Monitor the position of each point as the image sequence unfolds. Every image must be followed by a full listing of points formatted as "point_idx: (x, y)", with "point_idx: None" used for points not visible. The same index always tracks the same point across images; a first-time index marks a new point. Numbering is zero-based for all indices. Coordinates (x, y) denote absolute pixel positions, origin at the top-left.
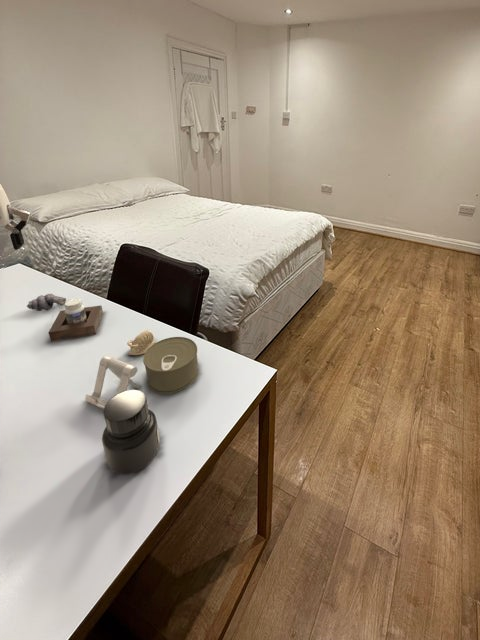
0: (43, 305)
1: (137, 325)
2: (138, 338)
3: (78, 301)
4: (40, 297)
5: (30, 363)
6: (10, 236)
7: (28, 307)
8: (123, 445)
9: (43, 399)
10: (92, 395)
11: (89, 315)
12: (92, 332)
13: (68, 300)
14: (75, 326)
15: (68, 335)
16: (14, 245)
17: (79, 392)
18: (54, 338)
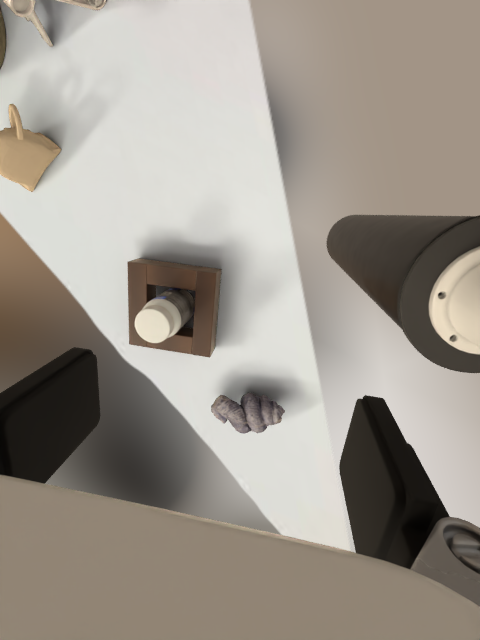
0: (250, 398)
1: (63, 257)
2: (2, 133)
3: (139, 323)
4: (254, 420)
5: (245, 201)
6: (17, 407)
7: (281, 407)
8: None
9: (195, 52)
10: (94, 1)
11: None
12: (141, 259)
13: (164, 339)
14: (165, 275)
15: (185, 265)
16: (66, 360)
17: (131, 47)
18: (212, 269)
